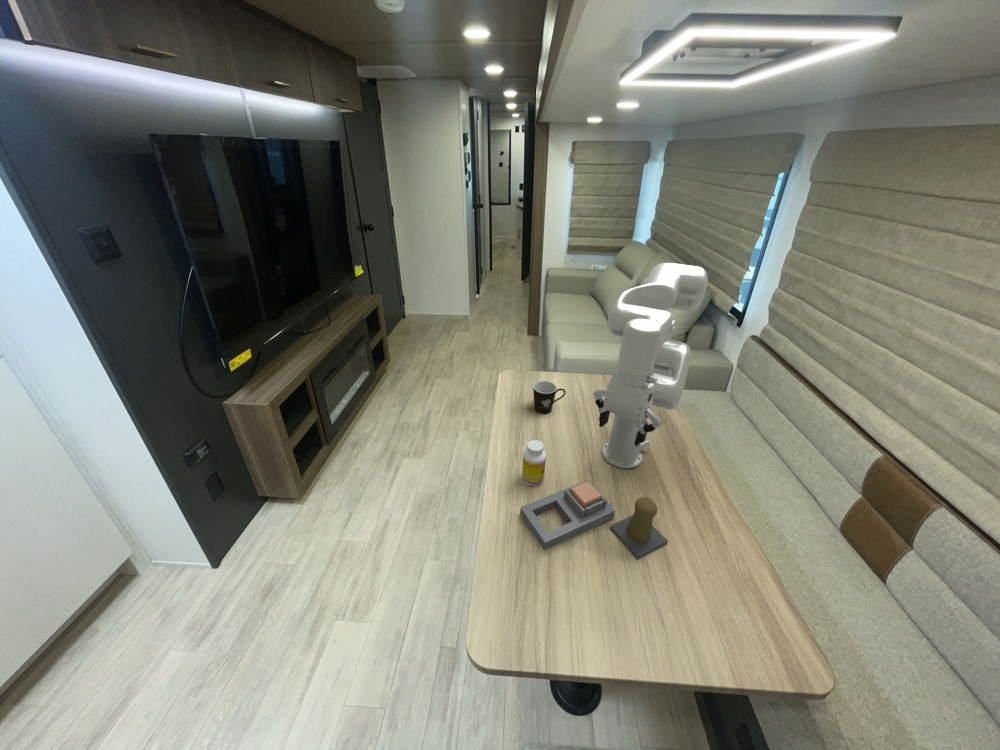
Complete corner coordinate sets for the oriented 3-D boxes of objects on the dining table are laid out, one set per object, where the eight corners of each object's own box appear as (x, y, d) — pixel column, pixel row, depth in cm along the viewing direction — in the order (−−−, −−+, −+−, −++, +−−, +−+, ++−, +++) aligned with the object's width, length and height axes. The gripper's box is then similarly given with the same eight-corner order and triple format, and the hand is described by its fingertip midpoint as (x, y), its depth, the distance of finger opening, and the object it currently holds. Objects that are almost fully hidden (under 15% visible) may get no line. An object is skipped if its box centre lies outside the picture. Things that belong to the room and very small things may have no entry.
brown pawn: (651, 546, 97) (660, 515, 92) (625, 539, 99) (633, 509, 93) (650, 526, 102) (660, 496, 97) (626, 520, 104) (634, 490, 98)
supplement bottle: (542, 488, 114) (545, 454, 107) (519, 484, 115) (522, 451, 109) (544, 472, 120) (548, 439, 113) (523, 468, 121) (525, 436, 114)
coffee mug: (529, 413, 145) (530, 391, 140) (534, 401, 152) (535, 379, 147) (560, 419, 143) (563, 396, 137) (564, 406, 150) (566, 384, 145)
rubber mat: (638, 514, 107) (639, 512, 106) (667, 543, 99) (668, 540, 99) (609, 527, 103) (610, 525, 102) (637, 559, 95) (638, 557, 95)
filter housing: (585, 487, 115) (588, 473, 112) (613, 518, 105) (617, 503, 103) (520, 514, 106) (521, 500, 103) (544, 550, 97) (546, 536, 94)
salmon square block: (586, 489, 109) (588, 481, 108) (599, 503, 105) (601, 495, 103) (570, 495, 107) (571, 488, 105) (583, 510, 103) (584, 502, 101)
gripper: (678, 382, 84) (661, 442, 93) (608, 354, 94) (598, 411, 104) (663, 397, 80) (646, 458, 89) (590, 366, 90) (582, 424, 99)
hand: (620, 433), depth 96 cm, fingers open, 9 cm apart
